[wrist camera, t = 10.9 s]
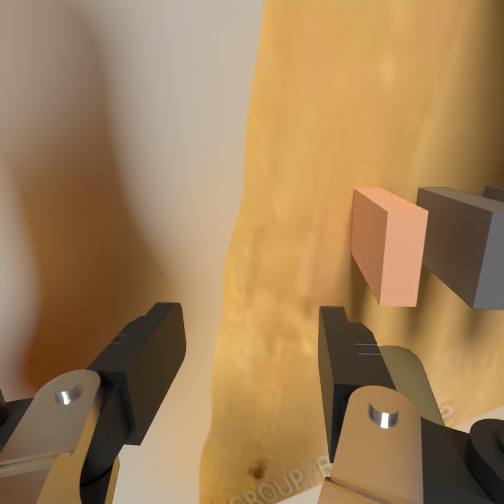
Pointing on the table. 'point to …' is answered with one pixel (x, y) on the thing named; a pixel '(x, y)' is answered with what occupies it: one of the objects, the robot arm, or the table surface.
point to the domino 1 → (388, 244)
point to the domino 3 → (495, 193)
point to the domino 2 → (465, 244)
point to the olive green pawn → (411, 381)
